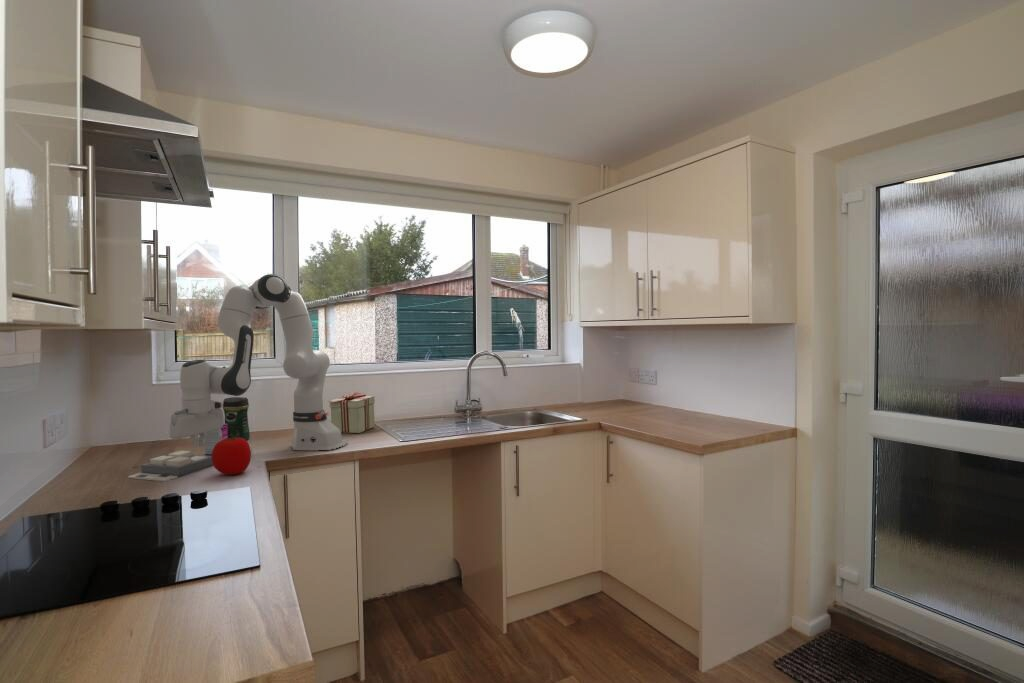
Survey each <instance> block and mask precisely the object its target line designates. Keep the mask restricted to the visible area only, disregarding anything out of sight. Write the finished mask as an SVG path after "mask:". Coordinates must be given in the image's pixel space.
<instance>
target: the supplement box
mask: <svg viewBox="0 0 1024 683" xmlns="http://www.w3.org/2000/svg"><path fill="white" fill-rule="evenodd" d="M227 438H228V424H225V423H224V425H223V427H222V428H218V429H214V430H211V431H207V435H206V438H205V440H204V455H207V456H212V451H213V449H214V446H215V445H216V444H217V443H218V442H219V441H221V440H224V439H227Z"/></svg>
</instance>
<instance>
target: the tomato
mask: <svg viewBox="0 0 1024 683" xmlns="http://www.w3.org/2000/svg"><path fill="white" fill-rule="evenodd" d="M243 438H244V437H240V438H238V437H234V436H232V438H227V439H224V440H221V441H219V442H218V443H217V444H216V445H215V446H214V449H213V451H212V463H213V467H214V468H215V470H216V471H218V472H219V473H221V474H223V475H227V476H229V475H230V476H231V475H233V476H234V475H239V474H242V473H243V472H245V471H246V470H247V469H248V468H249V466H250V462H251V458H252V451H251V447H250V444H249V442H248V440H245V439H243Z"/></svg>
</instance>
